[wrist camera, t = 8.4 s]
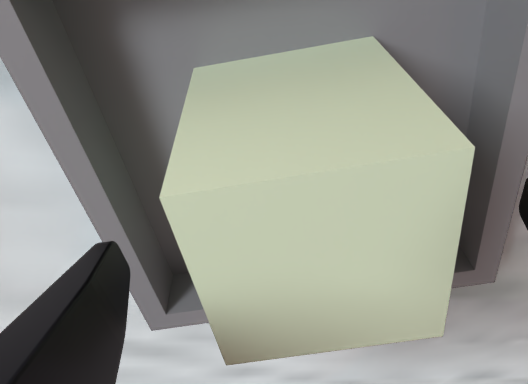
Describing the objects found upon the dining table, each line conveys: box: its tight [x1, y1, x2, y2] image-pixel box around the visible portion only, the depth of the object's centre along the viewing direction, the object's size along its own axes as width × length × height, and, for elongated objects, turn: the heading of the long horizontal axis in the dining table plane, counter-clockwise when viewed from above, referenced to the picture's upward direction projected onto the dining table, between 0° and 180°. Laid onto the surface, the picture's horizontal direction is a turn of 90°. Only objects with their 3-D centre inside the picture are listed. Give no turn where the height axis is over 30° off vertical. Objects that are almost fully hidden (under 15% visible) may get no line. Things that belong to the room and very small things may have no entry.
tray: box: [0, 0, 528, 331], centre depth 12 cm, size 13×13×2 cm
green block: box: [159, 36, 475, 365], centre depth 10 cm, size 5×5×6 cm
